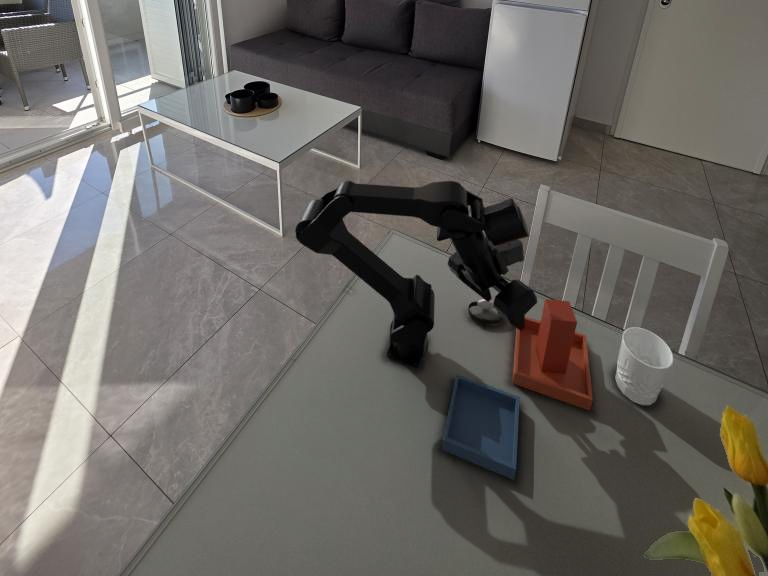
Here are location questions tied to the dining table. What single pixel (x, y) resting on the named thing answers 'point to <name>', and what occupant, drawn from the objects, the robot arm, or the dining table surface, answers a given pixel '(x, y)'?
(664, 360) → the white cup
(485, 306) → the watch
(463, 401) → the blue tray
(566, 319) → the red pillar
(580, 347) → the red tray
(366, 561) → the dining table surface
